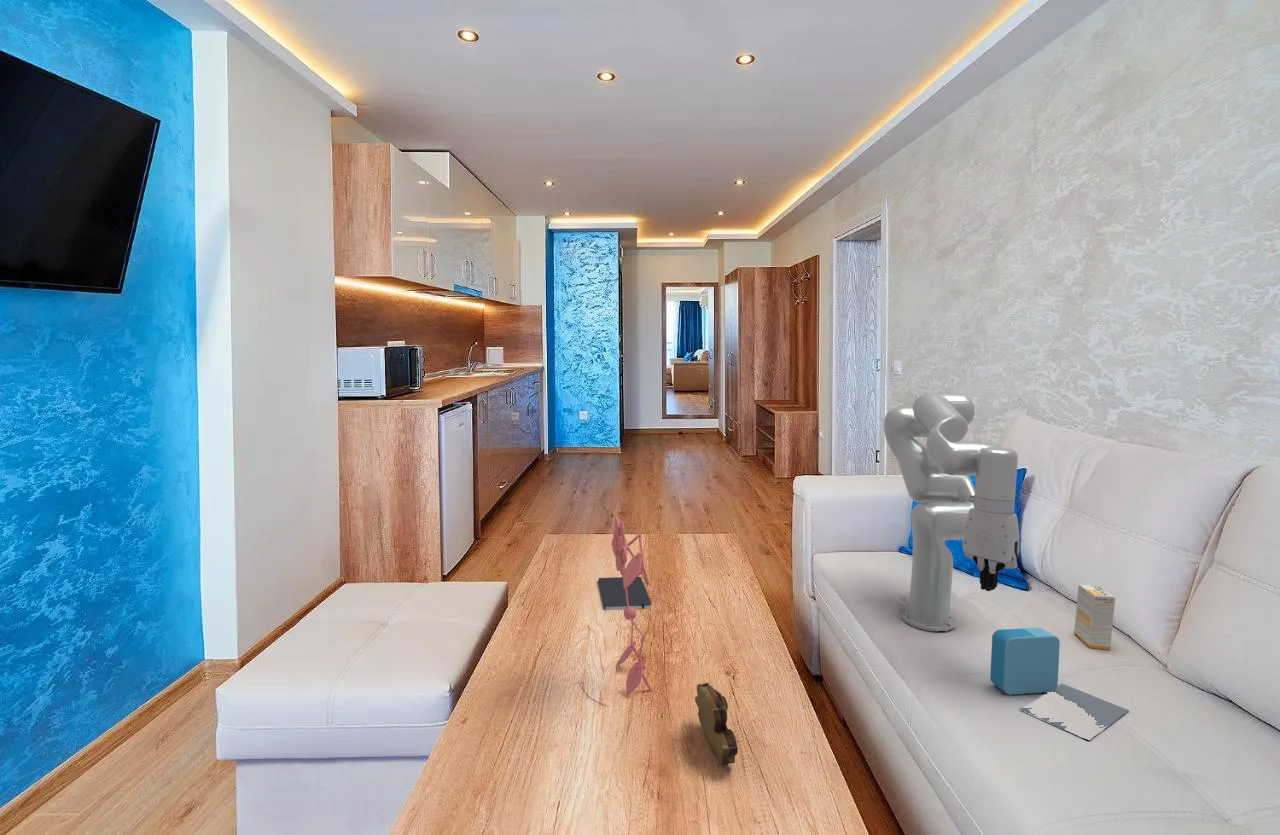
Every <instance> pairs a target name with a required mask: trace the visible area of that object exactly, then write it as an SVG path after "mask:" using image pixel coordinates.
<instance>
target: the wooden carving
mask: <svg viewBox="0 0 1280 835" xmlns="http://www.w3.org/2000/svg"><path fill="white" fill-rule="evenodd" d="M696 695H697V696H695V697H694V701H695V703H696V706H697V710H698V713H697V717H698V720H699V723H700V726H701V729H702V732H703V734H704V738H705V740H706V743H707V745H708V747H709V749H710V750H711V752H712V753H714V754H715V755H716V757H717V759H718V763H719V764H720V766H722V767H724V766H728V765H729V764H734V763H735V762H736V756H737V755H738V752H739V751H738V750H739V748H738V742H737V738H736V736H735V733H734V731H733V730H732V729H730V728H728V726H727V722H728V709H729V706H728V705H729V704H728V701H727V698H726V697H725V696H724V695H722V694H721V692H720V691H718V690H716V689H715V688H714V687H713V686H712V685H710V683H709V682H706V683H705V682H703V683H698V684H696Z"/></svg>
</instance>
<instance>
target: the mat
mask: <svg viewBox="0 0 1280 835" xmlns="http://www.w3.org/2000/svg"><path fill="white" fill-rule="evenodd" d="M1053 692H1056V693H1057V694H1059V695H1060V696H1063V697H1064V699H1065V700H1068V701H1072V702H1073V703H1076V704H1077V706H1078V707H1080V708H1083V709H1084V710H1085V712H1086V713H1088V716H1089V715H1090V714H1091V717H1094V718H1095V719H1094V720H1096V721H1097V722H1096V723H1095V724H1096V725H1098V726H1100V725H1104V726H1103V727H1106V726H1109V725H1110V724H1112V723H1113V724H1114V722H1115V723H1117V721H1119V720H1120V719H1121V718H1122V717H1124V716H1125V715H1126V713H1127V712H1128V713H1129V712H1130V709H1128V708H1127V709H1126V708H1124V707H1122V706H1119V705H1117V704H1114V703H1112V702H1109V701H1106V700H1105V699H1101V698H1099V697H1097V696H1094V695H1092V694H1090V693H1086V692H1084V691H1081V690H1080V689H1077V688H1074V687H1072V686H1069V685H1067V684H1064V683H1060V684H1058V685H1057V688H1056V689H1055V690H1054V691H1053ZM1019 709H1021V710H1022V711H1025V712H1027V713H1030V714H1032V713H1031V712H1030V710H1028V709H1032V708H1022V707H1020V708H1019ZM1022 711H1021V712H1022ZM1027 713H1026V714H1027ZM1128 713H1127V714H1128ZM1032 715H1036V714H1032ZM1036 717H1037V716H1036ZM1041 719H1043V720H1045V721H1048V720H1049V719H1050V718H1041ZM1052 719H1053V718H1052ZM1048 722H1049V721H1048ZM1050 723H1051V724H1053V725H1055V726H1057V727H1060V728H1062V729H1065V728H1066V727H1067V726H1061V724H1062V723H1064V722H1050ZM1097 723H1098V724H1097ZM1051 724H1050V725H1051ZM1113 724H1112V725H1113ZM1053 725H1052V726H1053ZM1055 726H1054V727H1055ZM1110 726H1111V725H1110ZM1110 726H1109V727H1110ZM1057 727H1056V728H1057ZM1103 727H1099V728H1103ZM1060 728H1059V729H1060ZM1062 729H1061V730H1062Z"/></svg>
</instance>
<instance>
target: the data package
mask: <svg viewBox="0 0 1280 835" xmlns="http://www.w3.org/2000/svg"><path fill="white" fill-rule="evenodd" d="M1060 643H1061V641H1060V639H1059V638H1058V636H1056V635H1054V634H1053V633H1051V632H1049V631H1047V630H1045V629H1044V628H1042V627H1022V628H1006V629H1004V628H1003V629H997V630H995V631H994V632H993V633H992V636H991V655H990V682H991V684H993V685H994V686H996V687H997V688H998V689H1000V690H1001V691H1002V692H1003V693H1005V694H1006V695H1010V696H1011V695H1013V694H1015V695H1024V693H1029V694H1041V693H1042V692H1044V693H1047V692H1052V691H1054V690H1055V689H1056V688H1057V686H1058V685H1059V683H1058V682H1059V668H1060V667H1059V665H1060V664H1059V663H1060V647H1061V646H1060V645H1061V644H1060ZM1013 696H1014V695H1013Z"/></svg>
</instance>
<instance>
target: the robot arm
mask: <svg viewBox="0 0 1280 835" xmlns="http://www.w3.org/2000/svg"><path fill="white" fill-rule="evenodd" d="M974 416H975V405H974V403H973V401H972V400H971V398H970V397H969V396H967V395H965V394H963V393H951V392H950V393H949V392H945V393H944V392H943V393H942V392H941V393H940V392H939V393H938V392H931V393H930V392H928V393H924V394H921V395H919V396H918V397H917V398H916V399H915V400H914V401H913V403H912V406H900V407H895V408H892V409H890V410H889V411H888V412H887V413H886V414H885V417H884V420H883V432H884V436H885V440H886V443H887V445H888V447H889V449H890V450H891V453H892V454H893V455H894V457H895V459H896V460H897V462H898V466H899V468H900V472H901V475H902V478H903V481H904V484H905V487H906V491H907V493H908V496H909V497H910V498H911V500H913V501H914V502H917V503H918V504H917V505H915V506H914V507H913V508H912V510H911V513H910V523H911V531H912V532H911V533H912V560H911V562H912V563H911V573H910V574H911V576H910V578H911V579H910V588H909V589H910V591H909V597H907V596H905V595H902V594H900V595H898V598H897V601H896V604H897V605H899V606H901V607H904V610H903V611H902V615H901V618H902V620H903V621H904V622H905V623H907V624H908V625H910V626H911V627H913V628H917V629H919V630H924V631H926V632H927V631H928V632H934V631H936V633H938V632H937V631H946V632H949V631H948V630H951V629H953V628H954V627H955V628H956V620H955V619H954V618H953V617H952V616H951V615H950V613H951V612H950V610H951V609H950V608H951V595H952V585H953V584H952V582H953V573H954V572H953V570H954V556H953V554H952V552H951V550H950V549H949V547H948V546H947V545H946V543H945V542H947V541H962V550H963V552H964V556H965V557H966V558H968V559H970V560H973V561H974V563H975V565H976V566H977V569H978V570H979V573H980V574H979V584H980V589H981V590H985V592H986V591H987V592H992V591H994V590H995V589H996V588H997V587H998V582H999V580H998V579H999V573H1000V572H1001V571H1003V570H1004V569H1009V570H1011V569H1016V568H1018V561H1017V560H1018V558H1019V554H1020V529H1019V528H1020V526H1019V520H1018V516H1017V514H1015V503H1016V502H1015V500H1016V492H1017V491H1016V490H1017V488H1016V487H1017V477H1018V462H1019V460H1018V459H1019V455H1018V452H1016V451H1015V450H1013V449H1011V448H1007V447H1003V446H1002V445H1000V444H997V443H995V442H994V443H993V442H977V441H962V440H963V439H964V438H965V436H966V435H967V434H968V428H969V425H970V424H971V423H972V421H973V419H974ZM915 438H926V443H925V444H926V445H925V446H926V447H925V446H924V445H923V443H920V442H919V441H918V440H917V439H915ZM971 476H972V477H973V476H974V477H975V486H974V483H973V480H972V479H971ZM955 628H954V629H955ZM954 629H953V630H954ZM951 631H952V630H951Z"/></svg>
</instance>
